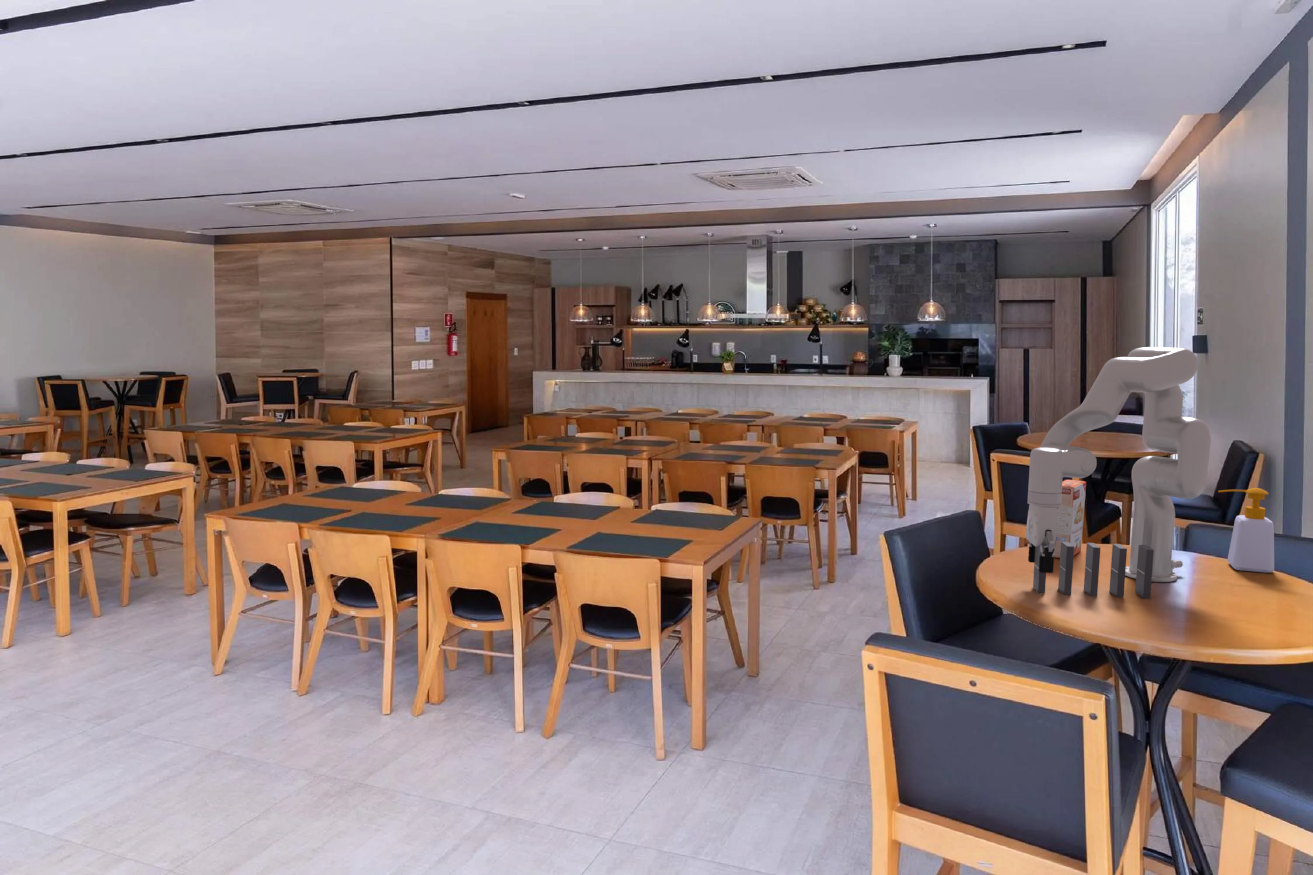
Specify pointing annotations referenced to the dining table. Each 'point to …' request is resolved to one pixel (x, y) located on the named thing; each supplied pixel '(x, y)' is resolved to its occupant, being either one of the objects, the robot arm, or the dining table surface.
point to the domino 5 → (1144, 571)
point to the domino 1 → (1038, 573)
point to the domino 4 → (1118, 570)
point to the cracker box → (1070, 515)
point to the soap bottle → (1252, 537)
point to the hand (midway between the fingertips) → (1040, 567)
